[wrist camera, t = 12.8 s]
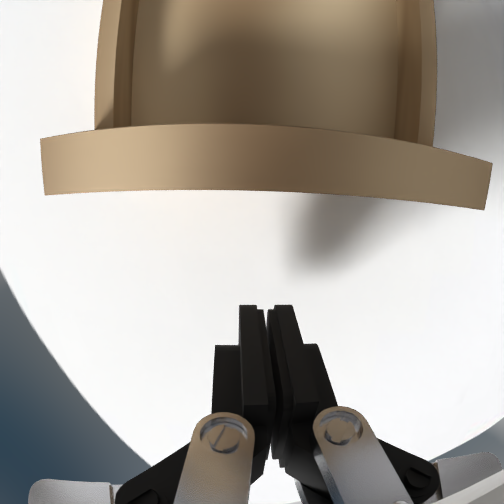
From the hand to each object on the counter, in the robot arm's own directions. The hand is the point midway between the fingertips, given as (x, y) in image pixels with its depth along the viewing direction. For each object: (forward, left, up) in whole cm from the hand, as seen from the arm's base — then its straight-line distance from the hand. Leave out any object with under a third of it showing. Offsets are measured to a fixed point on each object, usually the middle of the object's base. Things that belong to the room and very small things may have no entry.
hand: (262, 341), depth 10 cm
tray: (0, -13, -3) cm, 13 cm away
